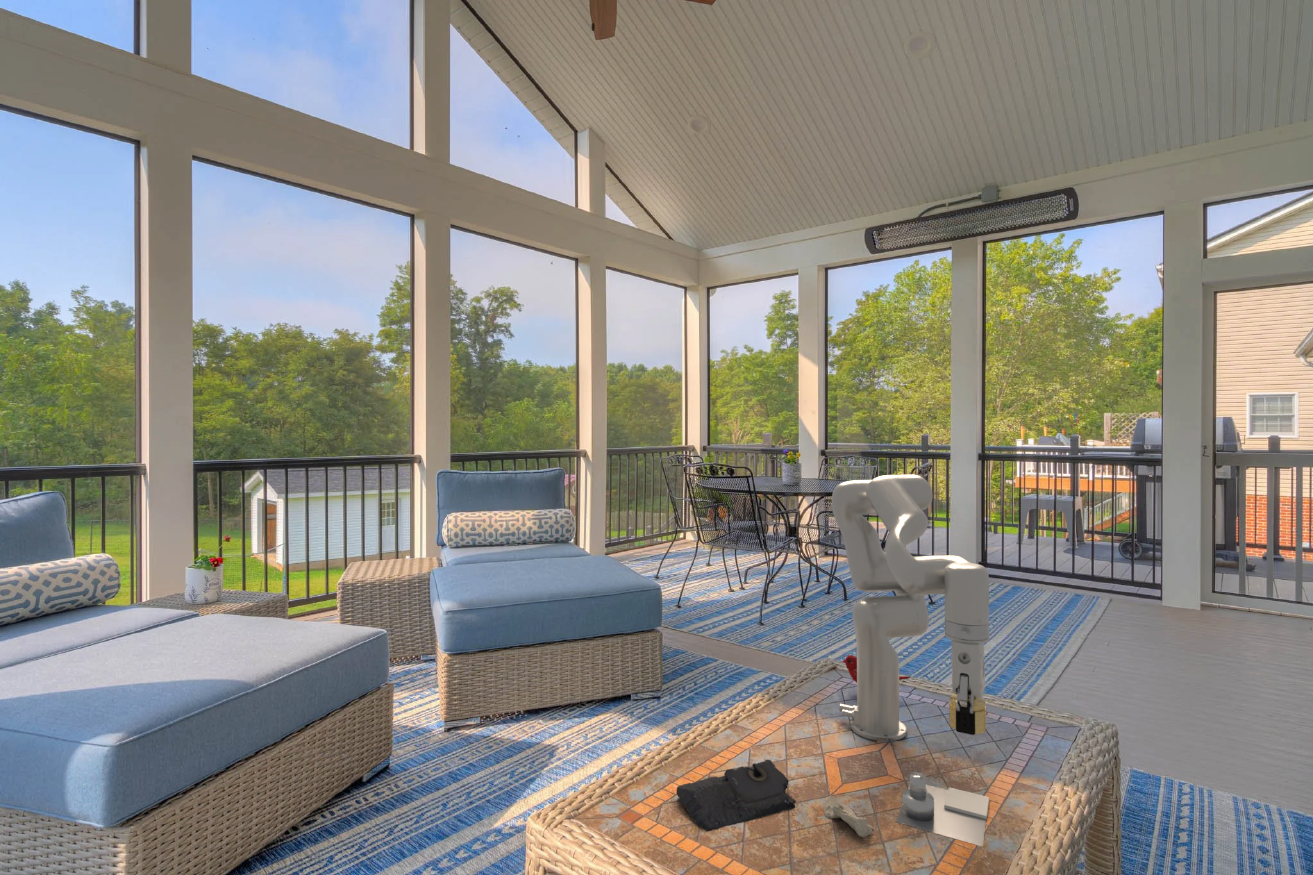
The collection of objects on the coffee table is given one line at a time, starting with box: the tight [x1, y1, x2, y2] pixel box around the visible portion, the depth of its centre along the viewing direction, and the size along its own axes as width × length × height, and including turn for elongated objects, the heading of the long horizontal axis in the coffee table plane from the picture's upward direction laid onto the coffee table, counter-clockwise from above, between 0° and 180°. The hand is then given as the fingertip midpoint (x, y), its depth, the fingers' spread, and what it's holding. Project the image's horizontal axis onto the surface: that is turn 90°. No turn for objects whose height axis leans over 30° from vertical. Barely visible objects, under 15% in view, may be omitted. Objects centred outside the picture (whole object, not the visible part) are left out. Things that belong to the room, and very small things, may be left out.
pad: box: [944, 786, 990, 820], centre depth 122 cm, size 7×7×1 cm
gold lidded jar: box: [948, 693, 987, 735], centre depth 122 cm, size 6×6×6 cm
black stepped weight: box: [676, 759, 797, 832], centre depth 127 cm, size 15×22×5 cm
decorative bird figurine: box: [841, 654, 911, 684], centre depth 176 cm, size 3×18×10 cm, turn 67°
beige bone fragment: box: [823, 795, 875, 838], centre depth 118 cm, size 6×10×4 cm, turn 32°
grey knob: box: [901, 771, 934, 821], centre depth 120 cm, size 5×5×7 cm
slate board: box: [895, 784, 987, 848], centre depth 120 cm, size 14×16×1 cm
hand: (967, 724), depth 122 cm, fingers closed on gold lidded jar, 6 cm apart
